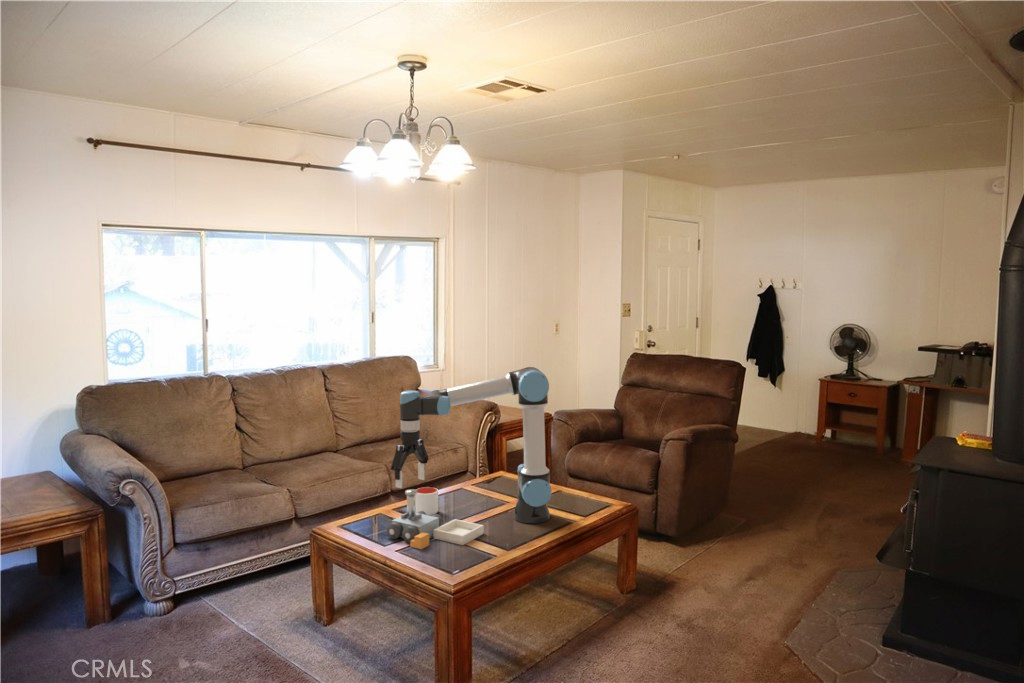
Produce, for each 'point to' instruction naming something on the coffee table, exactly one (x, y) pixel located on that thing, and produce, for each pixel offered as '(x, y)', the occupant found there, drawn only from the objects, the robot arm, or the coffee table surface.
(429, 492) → the cup
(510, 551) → the coffee table surface
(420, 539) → the block
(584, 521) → the coffee table surface
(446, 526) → the tray
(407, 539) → the trolley
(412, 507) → the pin
